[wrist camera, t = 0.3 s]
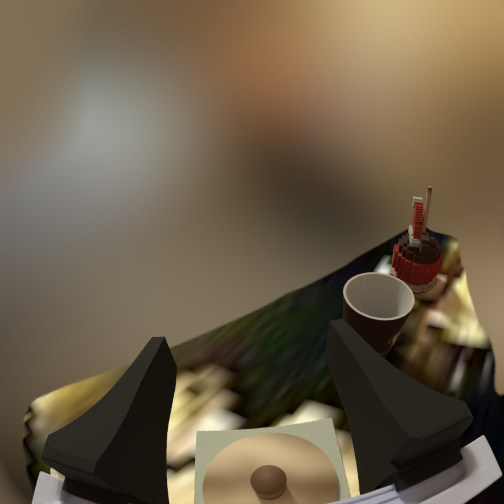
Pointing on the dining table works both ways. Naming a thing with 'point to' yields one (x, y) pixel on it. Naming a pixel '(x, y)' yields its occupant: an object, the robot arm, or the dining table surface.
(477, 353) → the dining table surface
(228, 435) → the mat
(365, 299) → the coffee mug
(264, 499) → the lid
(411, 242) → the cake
